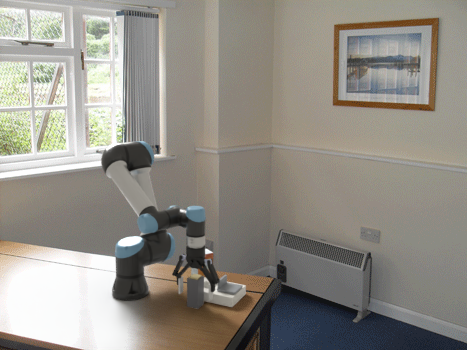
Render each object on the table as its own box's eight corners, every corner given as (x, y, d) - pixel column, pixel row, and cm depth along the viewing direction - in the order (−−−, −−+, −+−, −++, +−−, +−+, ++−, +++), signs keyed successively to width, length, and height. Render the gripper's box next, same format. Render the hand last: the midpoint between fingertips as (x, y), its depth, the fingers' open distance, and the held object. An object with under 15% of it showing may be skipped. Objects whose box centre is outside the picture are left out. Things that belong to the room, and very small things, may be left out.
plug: (186, 306, 213) (187, 277, 210) (192, 301, 217) (193, 272, 215) (197, 309, 211) (198, 279, 208) (203, 304, 215) (204, 274, 213)
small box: (197, 283, 236) (198, 255, 233) (190, 278, 241) (191, 251, 238) (213, 279, 240) (213, 252, 238) (206, 275, 245) (206, 248, 243)
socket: (188, 297, 221) (188, 288, 220) (203, 285, 234) (203, 276, 233) (232, 307, 213) (232, 298, 212) (245, 294, 226) (245, 285, 225)
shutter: (216, 290, 218) (217, 280, 217) (225, 283, 225) (225, 274, 225) (234, 294, 215) (234, 284, 214) (242, 287, 222) (242, 277, 221)
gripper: (163, 243, 211) (164, 293, 215) (220, 253, 201) (219, 305, 205) (173, 238, 217) (173, 286, 222) (228, 247, 207) (227, 298, 212)
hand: (195, 295), depth 213 cm, fingers open, 13 cm apart
